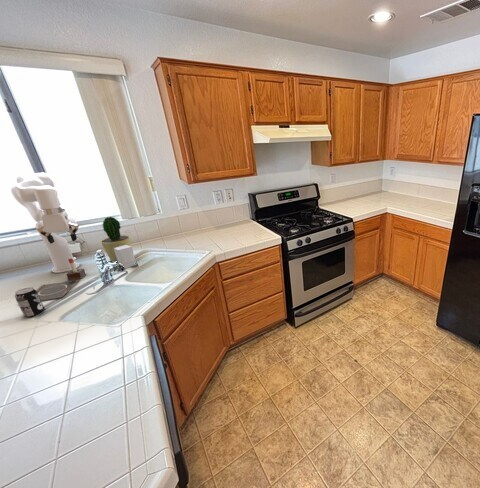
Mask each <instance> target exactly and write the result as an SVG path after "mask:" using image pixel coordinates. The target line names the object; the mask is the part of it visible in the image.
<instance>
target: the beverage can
mask: <svg viewBox="0 0 480 488" xmlns="http://www.w3.org/2000/svg"><path fill="white" fill-rule="evenodd" d="M36 290H37V289H34V287H33V286H30V287H24V288H21V289H18V290H16V291H15V292H14V299H15V300H16V303H17V304H18V307H19V309H20V311H21V313H22V315H23V316H24V317H25V318H32V317H33V318H34V317H36V316H38V315H41V314H42V313H44V311H45V307H44V304H43V301H41V300H40V298H39V295H38V293H37V291H36Z"/></svg>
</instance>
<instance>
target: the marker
mask: <svg viewBox="0 0 480 488" xmlns="http://www.w3.org/2000/svg"><path fill="white" fill-rule="evenodd" d="M68 261H69V263H70V266H71V268H72V271H73V272H77V269H78V268H76V267H75V264H74V261H75V260H74V261H73V258H70V259H68Z"/></svg>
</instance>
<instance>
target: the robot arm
mask: <svg viewBox="0 0 480 488" xmlns="http://www.w3.org/2000/svg"><path fill="white" fill-rule="evenodd" d="M16 183H17V184H16V185H13V186H12V187H11V189H10V193H11V194H12V196H13V198H14V199H15V201H17V202H18V203H19V204H20V205H22V206H23V207H24V208H25V209H27V211H28V212H29V214H30V216H31V217H32V218H33V219H32V220H34V221H35V222H36V223H35V229H36V231H37V232H38V234H39V236H40V237H41V239H42V241H43V243H44V245H45V248H46V250H47V253H48V255H49V257H50V260H51V262H52V265H53V268H52V269H51V272H52V273H54V274H58V273H59V274H60V273H66V272H69V271H71V270H72V268H71V266H70V263H69V261H68V259H70V258H73V261H74V264H75V267H76V269H78V268H79V267H80V263H79V262H76V260H77V257H75V256H73V253H72V250H71V248H70V245H69V242H68V240H67V239H66V238H65V237H63V236H61V235H62V234H68V233H69V236H70V239H71V241H72V242H75V241H77V239H78V237H77V234H76V233H77V232H78V230H79V227H80V225H79V224H78V222H77V221H76V218H75V217H74V216H73V214H72V213H71V212H70V211H69V209H68V208H67V206H64V205H61V203H60V201H59V198H58V191H57V189H56V188H55V181H54V178H53V177H52V175H51V174H49V173H46V172H35V173H34V172H33V173H22V174H19V175H18V176H17V178H16Z"/></svg>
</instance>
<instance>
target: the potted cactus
mask: <svg viewBox="0 0 480 488" xmlns="http://www.w3.org/2000/svg"><path fill="white" fill-rule="evenodd" d="M120 222H121V221H120V220H118V219H117V218H116V217H114V216H107V217H104V219H103V221H102V225H101V227H102V228H103V232H104V233H105V234H106V236H107V237H106V238H103V239H101V240H100V244H101V246H102V248H103V249H104V251H105V252H106V255H107V257H108V258H109V260H110V262H111V261H117V257H116V254H115V251H114V248H116V247H120V246H123V245H129V246H131V236H130V235H126V234H125V235H124V234H123V235H122V234H121V228H122V226H121V223H120ZM131 247H132V246H131ZM117 262H118V261H117Z"/></svg>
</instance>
